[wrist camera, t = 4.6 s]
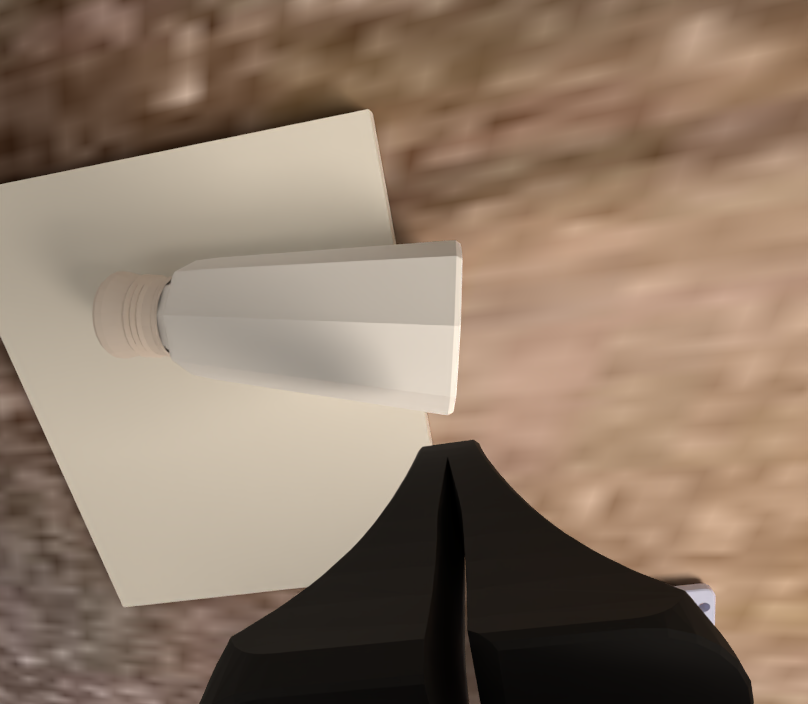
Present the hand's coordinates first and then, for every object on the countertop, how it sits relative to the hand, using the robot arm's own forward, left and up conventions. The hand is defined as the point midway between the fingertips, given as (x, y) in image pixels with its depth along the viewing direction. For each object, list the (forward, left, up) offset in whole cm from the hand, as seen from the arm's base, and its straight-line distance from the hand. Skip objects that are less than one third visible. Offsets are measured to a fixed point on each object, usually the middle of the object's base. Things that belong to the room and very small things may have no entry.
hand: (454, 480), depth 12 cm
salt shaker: (+2, -1, -5) cm, 5 cm away
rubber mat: (0, +8, -8) cm, 12 cm away
